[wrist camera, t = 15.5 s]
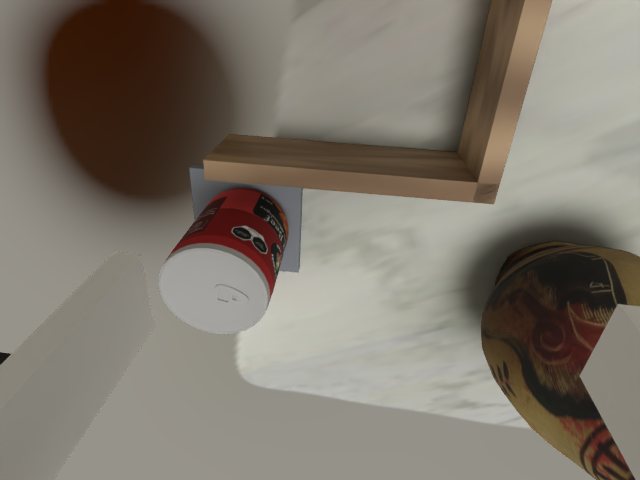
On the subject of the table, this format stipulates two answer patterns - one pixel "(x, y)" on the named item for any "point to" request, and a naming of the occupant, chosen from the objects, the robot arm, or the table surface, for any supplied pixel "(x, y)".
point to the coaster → (282, 195)
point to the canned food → (226, 263)
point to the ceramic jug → (559, 342)
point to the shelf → (405, 163)
